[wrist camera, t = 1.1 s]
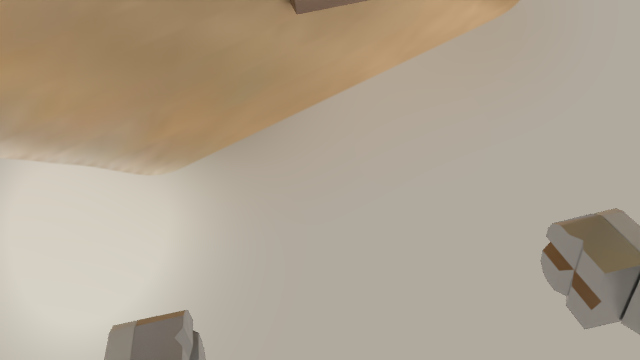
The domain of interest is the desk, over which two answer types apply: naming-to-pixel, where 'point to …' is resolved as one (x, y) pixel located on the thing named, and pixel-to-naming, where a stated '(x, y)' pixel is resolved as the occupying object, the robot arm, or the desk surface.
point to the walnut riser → (318, 4)
